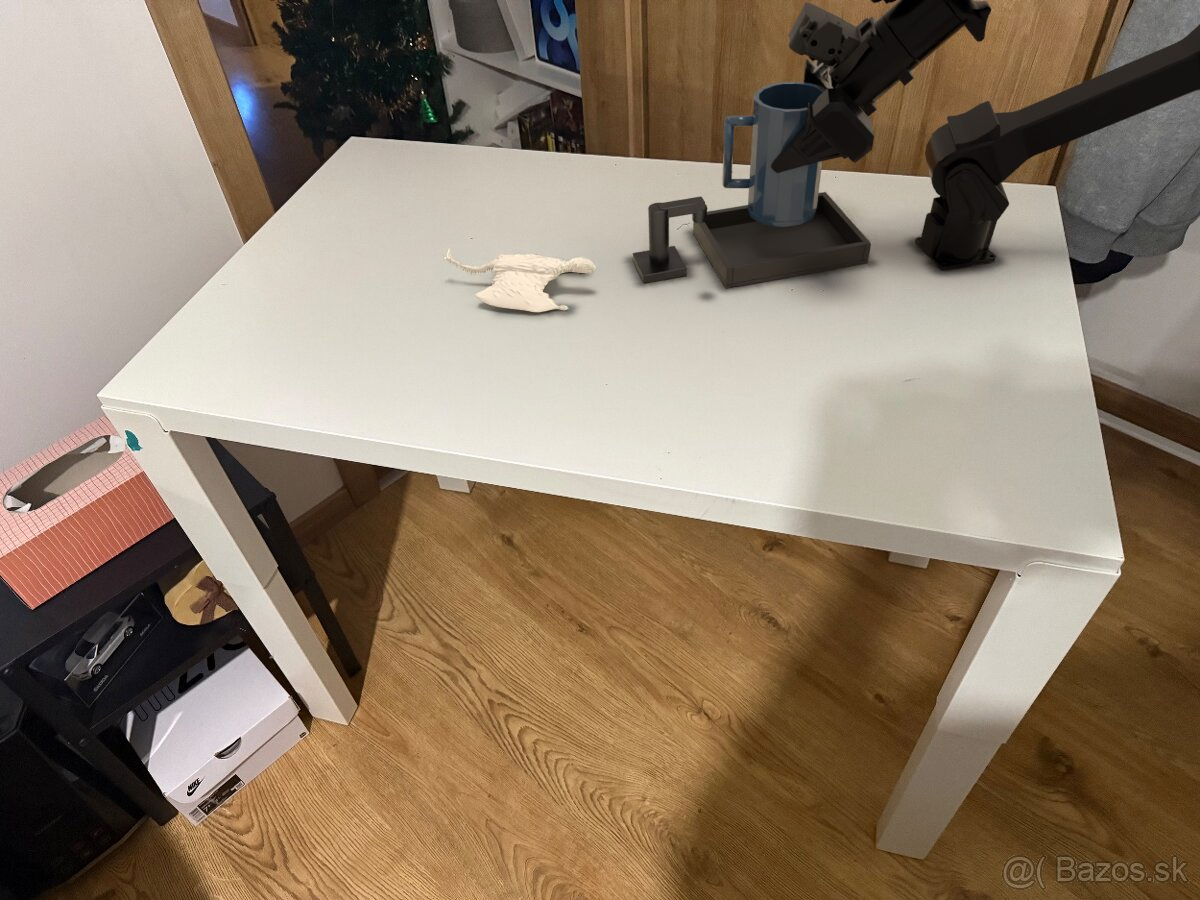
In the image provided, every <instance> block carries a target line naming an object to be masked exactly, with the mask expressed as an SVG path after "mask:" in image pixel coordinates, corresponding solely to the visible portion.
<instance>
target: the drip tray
mask: <svg viewBox="0 0 1200 900" xmlns="http://www.w3.org/2000/svg"><path fill="white" fill-rule="evenodd" d="M692 222H693V221H692ZM692 225H693V226H692V233H693V236H694V237H695V238H696V240H697V243H698V244H699V246H700V247H701V249H702V250H703V253H704V255H706V257H707V259H708V261H709V263H710V264H711V265H712V268H713V269H714V270H715V272H716V274H717V276H718V278H719V279H720V281H721V282H722V284H723V286H724V287H725V289H730V288H737V287H742V286H748V285H752V284H753V285H754V284H759V283H765V282H771V281H776V280H782V279H786V278H792V277H799V276H803V275H809V274H814V273H820V272H827V271H831V270H837V269H843V268H849V267H853V266H855V267H856V266H859V265H866V264H869V258H870V253H871V247H872V242H871V241H870V240H869V238H868V237H866V235H864V234H863V232H862V231H861V230H860V229H859V228H858V226H857V225H856V224H855V223H854V222H853V221H852V220H851V219H850V218H849V216H848V215H847V214H846V213H845V212H844V211H843V209H841V208H840V206H838V204H837V203H836V201H834V199H833V198H832V197H831V196H830V195H829V194H828V193H827V192H826V191H823V192H819V193H818V202H817V208H816V213H815V215H814V217H813V218H812V219H810V220H809V221H807V222H805V223H803V224H800V225H796V226H789V227H775V226H769V225H765V224H762V223H759V222H757V221H756V220H754V219H753V218H752V217H751V216H750V215H749V213H748V204H745V205H740V206H732V207H726V208H721V209H715V210H707V220H706V221H705V222H703V223H695V222H693V223H692Z"/></svg>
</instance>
